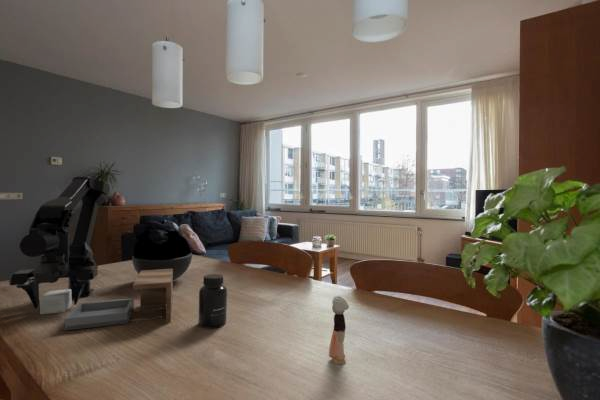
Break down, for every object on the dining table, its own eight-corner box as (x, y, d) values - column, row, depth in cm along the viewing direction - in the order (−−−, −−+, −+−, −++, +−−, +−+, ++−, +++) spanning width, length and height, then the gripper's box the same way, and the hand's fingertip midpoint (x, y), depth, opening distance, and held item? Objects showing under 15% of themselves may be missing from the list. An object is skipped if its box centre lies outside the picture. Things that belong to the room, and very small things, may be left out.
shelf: (140, 305, 91) (140, 270, 91) (172, 302, 94) (172, 268, 94) (132, 326, 77) (133, 285, 77) (170, 322, 80) (170, 282, 80)
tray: (79, 313, 85) (79, 303, 85) (134, 308, 89) (134, 298, 89) (64, 330, 74) (64, 318, 74) (127, 323, 79) (127, 312, 79)
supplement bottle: (219, 330, 76) (219, 280, 76) (193, 327, 77) (193, 278, 77) (231, 319, 83) (231, 273, 82) (206, 317, 84) (207, 271, 84)
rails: (73, 317, 83) (73, 316, 83) (168, 307, 91) (168, 306, 91) (62, 329, 75) (62, 328, 75) (167, 317, 83) (167, 316, 83)
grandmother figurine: (325, 350, 67) (326, 290, 66) (343, 350, 67) (344, 290, 67) (332, 371, 59) (333, 303, 59) (352, 370, 59) (353, 303, 59)
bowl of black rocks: (203, 281, 118) (203, 230, 117) (151, 294, 102) (151, 236, 101) (172, 272, 130) (172, 226, 129) (121, 283, 113) (121, 231, 113)
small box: (48, 307, 90) (48, 290, 90) (72, 305, 91) (72, 288, 91) (39, 314, 84) (38, 296, 84) (64, 312, 86) (64, 294, 86)
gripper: (-3, 257, 77) (-3, 321, 77) (87, 253, 83) (87, 312, 83) (19, 249, 87) (20, 305, 88) (98, 246, 94) (98, 298, 94)
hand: (56, 305), depth 88 cm, fingers open, 9 cm apart
